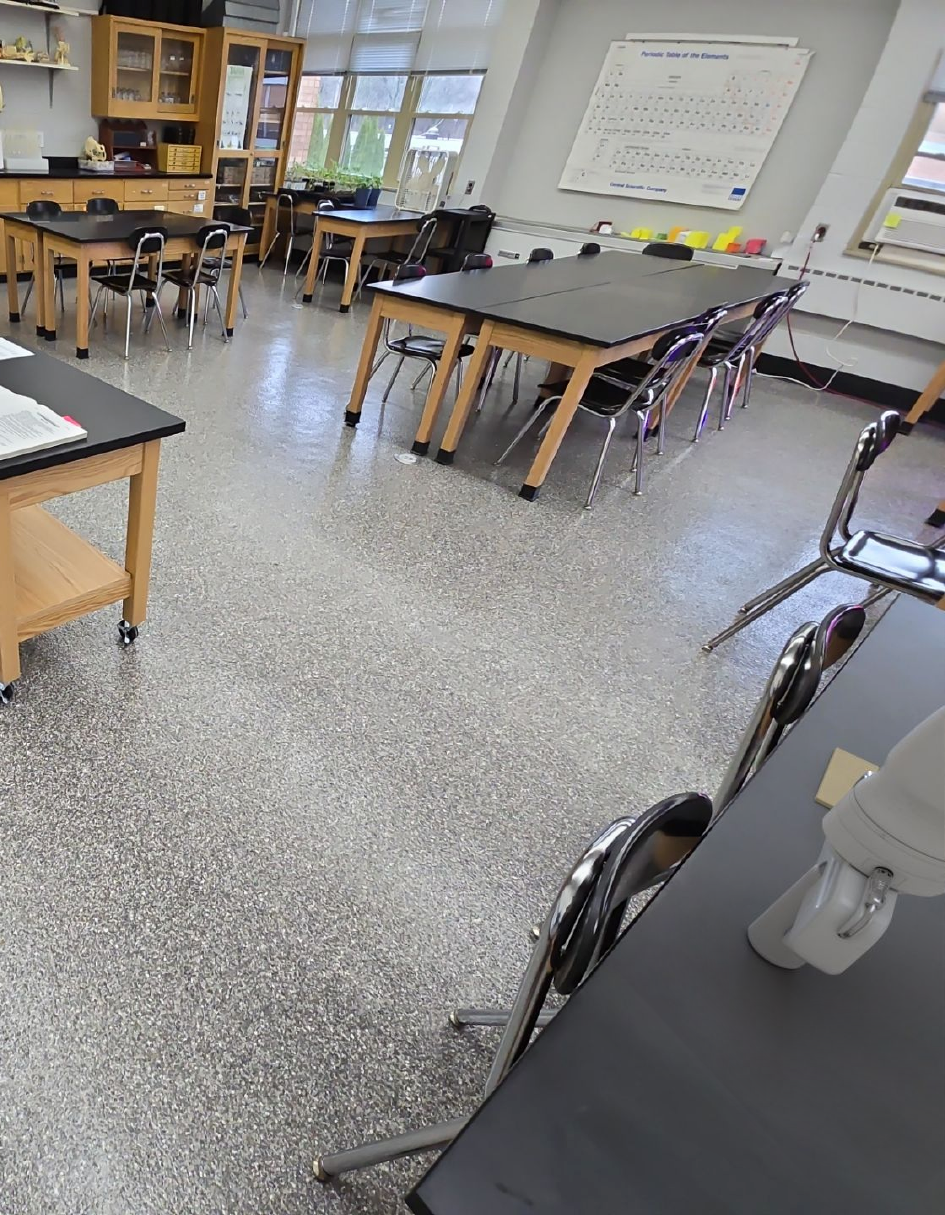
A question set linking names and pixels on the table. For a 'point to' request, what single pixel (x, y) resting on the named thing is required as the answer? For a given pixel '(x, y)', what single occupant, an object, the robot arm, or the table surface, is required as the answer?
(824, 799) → the napkin
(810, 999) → the table surface
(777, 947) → the beverage can
